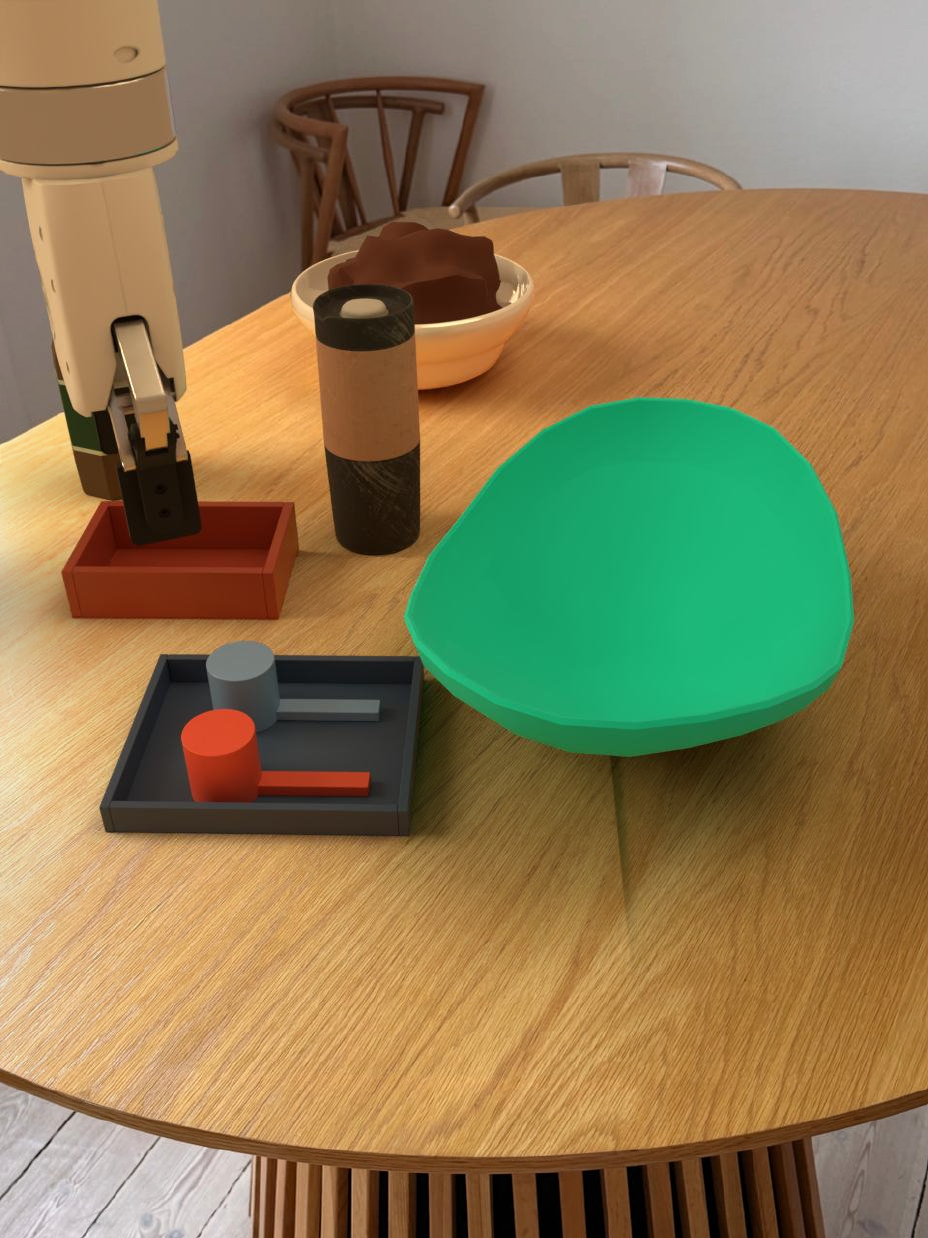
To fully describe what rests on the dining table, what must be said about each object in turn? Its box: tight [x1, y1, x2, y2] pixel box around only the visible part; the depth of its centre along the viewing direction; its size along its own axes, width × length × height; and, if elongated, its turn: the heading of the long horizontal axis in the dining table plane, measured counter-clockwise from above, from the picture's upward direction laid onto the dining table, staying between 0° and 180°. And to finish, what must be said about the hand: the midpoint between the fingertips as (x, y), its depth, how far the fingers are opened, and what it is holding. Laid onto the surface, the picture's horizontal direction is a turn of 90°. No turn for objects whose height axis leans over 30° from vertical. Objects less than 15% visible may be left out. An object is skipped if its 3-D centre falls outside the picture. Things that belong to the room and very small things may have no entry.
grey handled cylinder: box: [206, 640, 381, 733], centre depth 80 cm, size 11×4×4 cm, turn 88°
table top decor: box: [403, 396, 855, 758], centre depth 79 cm, size 40×28×13 cm
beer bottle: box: [51, 338, 122, 501], centre depth 103 cm, size 8×8×24 cm
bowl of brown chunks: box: [289, 221, 536, 391], centre depth 125 cm, size 25×25×15 cm
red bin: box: [60, 500, 300, 621], centre depth 94 cm, size 16×11×4 cm
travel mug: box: [313, 284, 421, 556], centre depth 96 cm, size 8×8×20 cm
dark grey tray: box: [98, 653, 425, 838], centre depth 78 cm, size 18×15×2 cm
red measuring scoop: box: [181, 709, 371, 803], centre depth 74 cm, size 11×4×4 cm, turn 88°
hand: (148, 489), depth 59 cm, fingers open, 9 cm apart
